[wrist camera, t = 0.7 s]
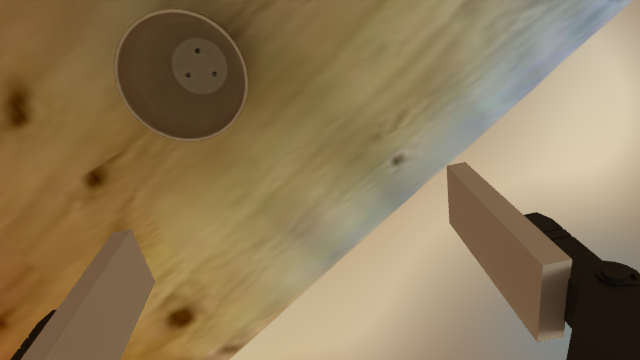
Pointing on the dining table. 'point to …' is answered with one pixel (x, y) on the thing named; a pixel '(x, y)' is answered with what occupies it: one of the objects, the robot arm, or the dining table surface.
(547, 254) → the robot arm
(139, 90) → the flower pot
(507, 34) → the dining table surface
